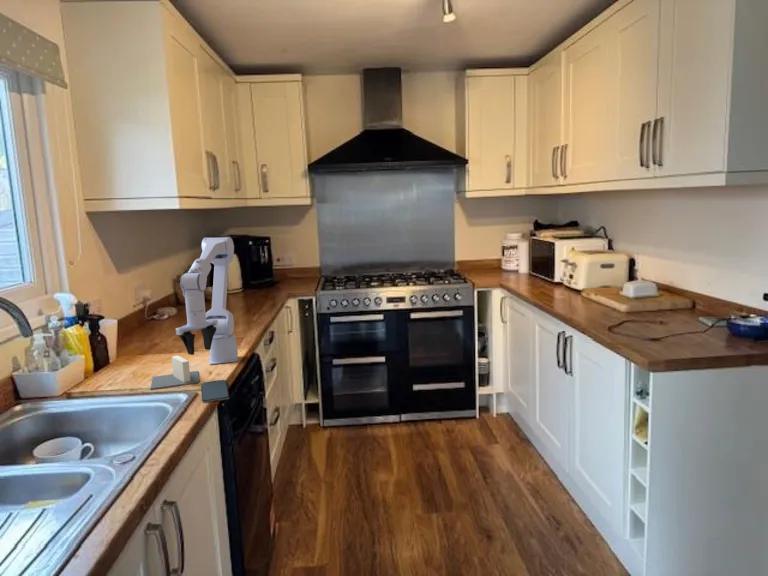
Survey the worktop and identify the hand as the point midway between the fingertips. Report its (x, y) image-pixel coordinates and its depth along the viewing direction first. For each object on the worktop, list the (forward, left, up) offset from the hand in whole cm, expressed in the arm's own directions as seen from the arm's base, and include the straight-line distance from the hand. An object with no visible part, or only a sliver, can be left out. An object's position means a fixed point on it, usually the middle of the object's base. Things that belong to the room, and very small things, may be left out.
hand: (199, 351), depth 172 cm
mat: (+8, 0, -8) cm, 12 cm away
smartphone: (-3, +17, -9) cm, 20 cm away
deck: (+6, 0, -8) cm, 10 cm away
